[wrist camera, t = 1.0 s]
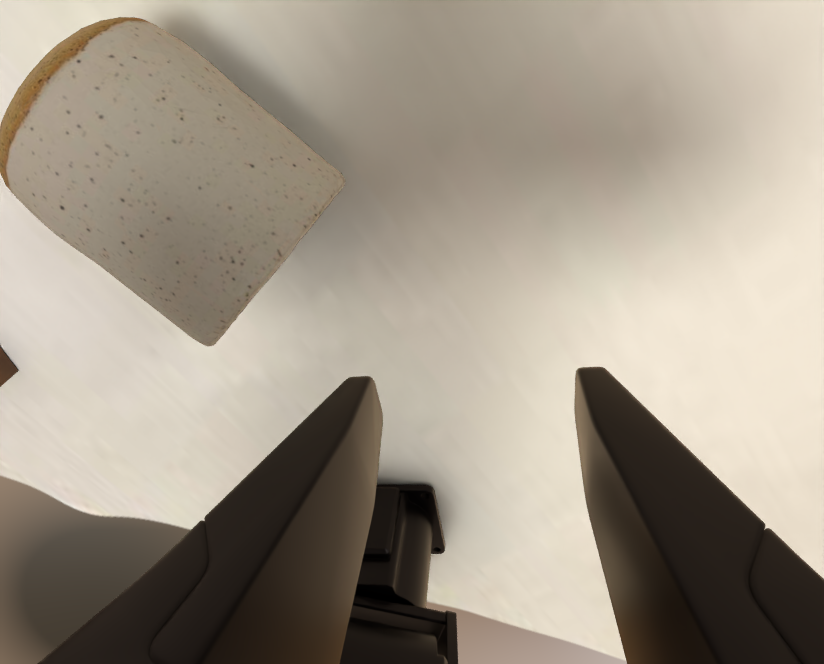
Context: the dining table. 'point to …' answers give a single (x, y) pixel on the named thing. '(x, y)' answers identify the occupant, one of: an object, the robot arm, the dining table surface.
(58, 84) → the ceramic mug
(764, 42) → the dining table surface
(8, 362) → the walnut board
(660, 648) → the robot arm
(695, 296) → the dining table surface
